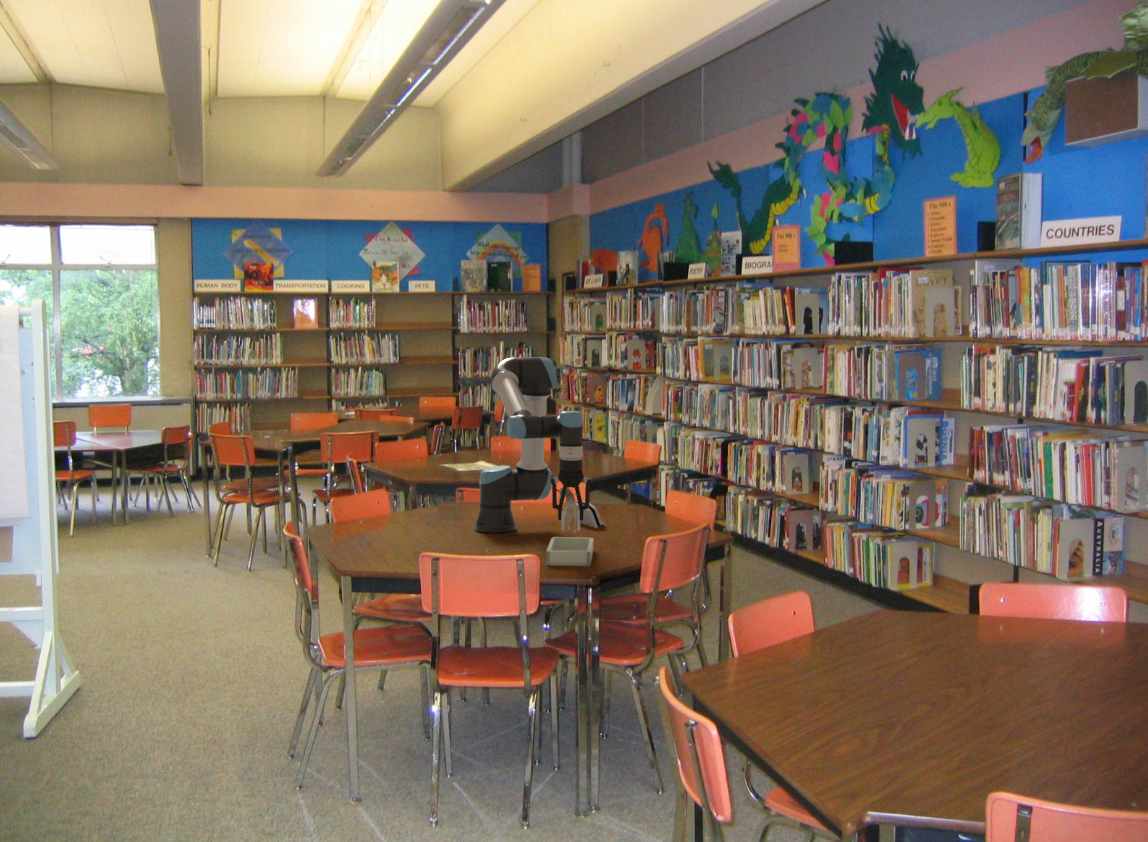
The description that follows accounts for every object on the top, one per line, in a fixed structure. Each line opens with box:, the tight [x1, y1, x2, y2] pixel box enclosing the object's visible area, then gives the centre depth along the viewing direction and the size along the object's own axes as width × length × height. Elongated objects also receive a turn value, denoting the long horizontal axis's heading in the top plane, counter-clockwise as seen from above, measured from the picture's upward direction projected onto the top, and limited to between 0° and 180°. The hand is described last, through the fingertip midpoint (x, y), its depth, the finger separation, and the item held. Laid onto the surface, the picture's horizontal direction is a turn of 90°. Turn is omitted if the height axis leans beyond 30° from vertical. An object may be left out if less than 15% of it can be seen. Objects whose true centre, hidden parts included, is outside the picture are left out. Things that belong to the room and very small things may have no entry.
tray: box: [545, 536, 594, 567], centre depth 317 cm, size 14×22×4 cm, turn 176°
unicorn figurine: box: [550, 486, 578, 534], centre depth 317 cm, size 7×20×13 cm, turn 16°
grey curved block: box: [575, 500, 607, 529], centre depth 374 cm, size 17×5×10 cm, turn 30°
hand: (570, 529), depth 317 cm, fingers closed on unicorn figurine, 4 cm apart
